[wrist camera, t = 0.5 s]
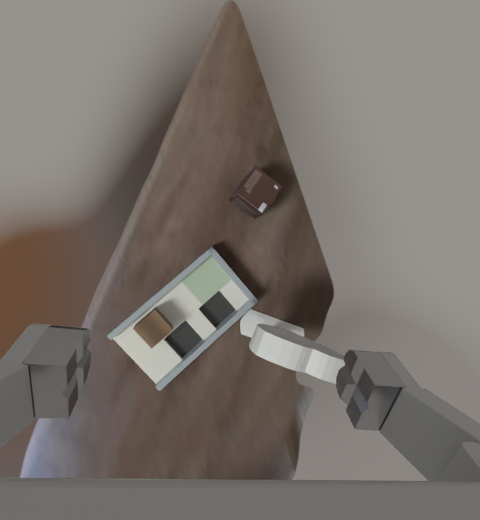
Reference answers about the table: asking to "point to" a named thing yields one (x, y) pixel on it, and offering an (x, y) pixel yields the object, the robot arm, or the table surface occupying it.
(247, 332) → the heart sculpture
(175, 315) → the track
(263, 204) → the box
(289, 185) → the table surface
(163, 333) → the walnut block
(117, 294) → the table surface
